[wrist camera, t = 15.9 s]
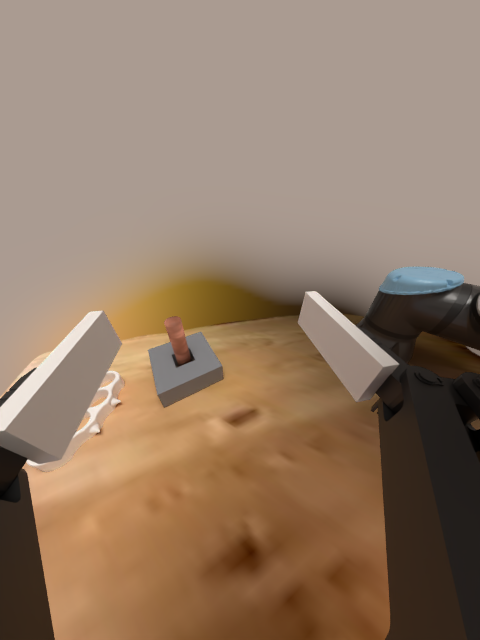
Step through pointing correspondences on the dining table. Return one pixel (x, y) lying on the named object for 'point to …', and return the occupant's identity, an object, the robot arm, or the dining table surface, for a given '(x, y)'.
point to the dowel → (178, 340)
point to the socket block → (184, 370)
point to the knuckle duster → (95, 422)
